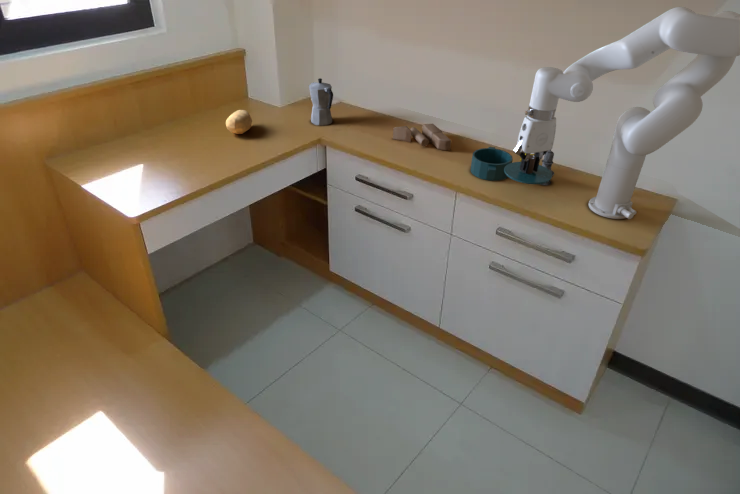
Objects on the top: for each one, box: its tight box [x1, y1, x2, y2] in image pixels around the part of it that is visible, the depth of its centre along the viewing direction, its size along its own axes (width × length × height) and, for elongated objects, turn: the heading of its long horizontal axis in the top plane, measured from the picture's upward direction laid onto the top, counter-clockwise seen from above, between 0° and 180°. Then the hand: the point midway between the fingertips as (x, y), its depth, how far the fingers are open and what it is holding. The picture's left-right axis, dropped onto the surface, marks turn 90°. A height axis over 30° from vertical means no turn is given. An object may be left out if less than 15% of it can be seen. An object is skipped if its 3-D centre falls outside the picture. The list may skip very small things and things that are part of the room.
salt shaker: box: [539, 149, 555, 186], centre depth 170 cm, size 6×6×12 cm
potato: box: [225, 109, 253, 135], centre depth 203 cm, size 10×14×8 cm
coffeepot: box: [308, 77, 334, 127], centre depth 210 cm, size 15×9×18 cm, turn 37°
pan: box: [470, 146, 514, 182], centre depth 177 cm, size 13×19×6 cm
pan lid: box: [504, 155, 553, 185], centre depth 157 cm, size 14×14×6 cm
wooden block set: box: [392, 123, 452, 151], centre depth 196 cm, size 17×6×18 cm
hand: (528, 170), depth 158 cm, fingers closed on pan lid, 2 cm apart
